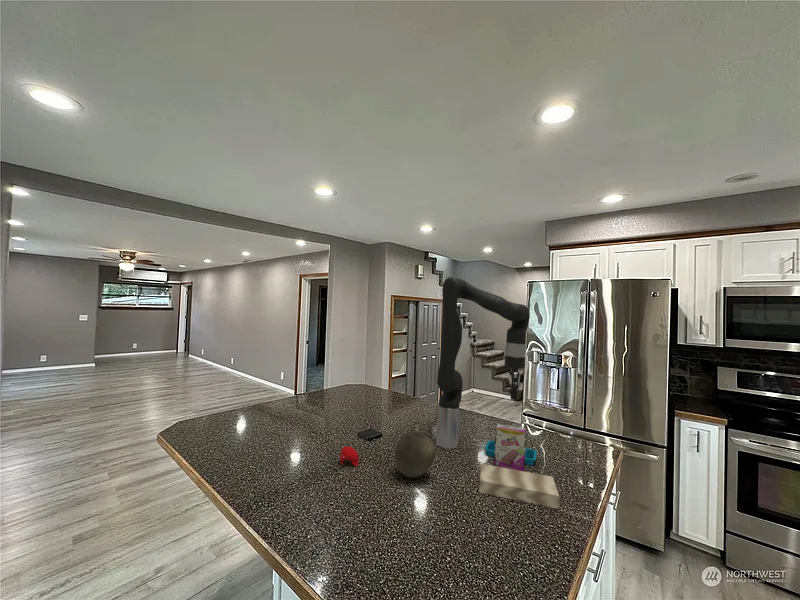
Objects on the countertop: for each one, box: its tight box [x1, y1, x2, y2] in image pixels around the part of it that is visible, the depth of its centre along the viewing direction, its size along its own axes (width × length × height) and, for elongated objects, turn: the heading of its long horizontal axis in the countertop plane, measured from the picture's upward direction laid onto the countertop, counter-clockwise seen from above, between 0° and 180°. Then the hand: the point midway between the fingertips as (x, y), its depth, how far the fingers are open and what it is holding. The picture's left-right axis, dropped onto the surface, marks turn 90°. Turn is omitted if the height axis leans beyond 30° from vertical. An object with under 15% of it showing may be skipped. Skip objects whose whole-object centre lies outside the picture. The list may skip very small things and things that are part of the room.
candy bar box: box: [493, 423, 527, 472], centre depth 124 cm, size 11×5×16 cm, turn 71°
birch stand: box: [478, 463, 560, 510], centre depth 110 cm, size 24×13×4 cm, turn 73°
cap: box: [339, 445, 360, 467], centre depth 123 cm, size 8×6×6 cm
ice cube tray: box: [484, 440, 538, 466], centre depth 138 cm, size 12×20×3 cm, turn 65°
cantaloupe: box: [394, 430, 437, 479], centre depth 117 cm, size 14×14×15 cm
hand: (513, 397), depth 126 cm, fingers open, 8 cm apart
